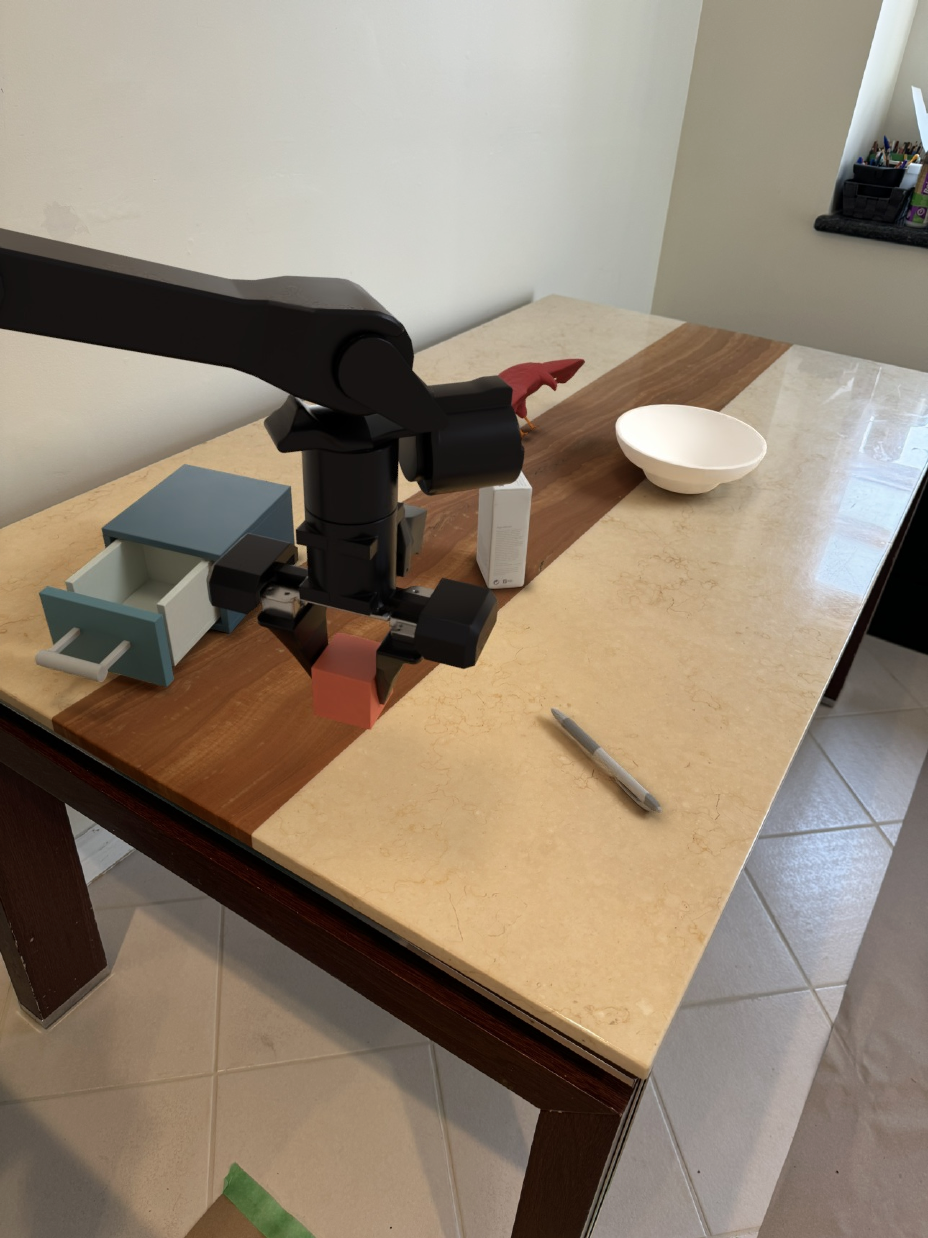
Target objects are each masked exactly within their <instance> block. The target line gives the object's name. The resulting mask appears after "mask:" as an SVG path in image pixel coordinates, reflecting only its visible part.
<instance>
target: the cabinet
mask: <svg viewBox="0 0 928 1238" xmlns="http://www.w3.org/2000/svg"><path fill="white" fill-rule="evenodd" d="M293 511H294V510H293V495H292V486H291V485H287V484H283V483H278V482H273V481H269V480H263V479H258V478H255V477H249V476H244V475H240V474H236V473H235V474H234V473H230V472H225V471H220V470H217V469H216V470H215V469H211V468H206V467H201V466H198V465H197V466H196V465H191V464H187V463H184V464H182V465H181V466H179V468H177V469H176V470H174V471H173V472H172V473H171V474H169V475H168V476H167V477H165V478H164V479H163V480H162V481H159V483H158V484H156V485H155V486H154V487H152V488H151V489H150V490H148V491H147V492H146V493H144V494H143V495H142V496H140V498H137V500H136V501H134V502H133V503H132V504H131V505H129V506H127V508H125V509H124V510H123V511H121V512H120V513H119V514H118V515H116V516H115V517H114V518H112V519H110V521H108V522H107V523H106V524H104V525H103V526H102V527H101V534H102V539H103V544H104V549H106V548H107V547H108V546H109V545H110V544H112V543H113V542H114V541H115V540H117V539H123V540H127V541H131V542H136V543H140V544H144V545H149V546H153V547H157V548H161V549H166V550H170V551H174V552H179V553H183V554H187V555H191V556H196V557H200V558H204V559H209V560H213V561H214V563H216V562H217V561H218V560H219V559H220V558H221V557H222V556H223V555H224V554H225V553H226V552H227V551H228V550H229V549H230V548H231V547H232V546H233V545H234V544H235V543H236V542H237V541H238V540H239V539H241V538H242V537H243V536H244V535H245V534H247V533H251V534H255V535H259V536H264V537H268V538H272V539H277V540H281V541H285V542H290V543H292V544H294V545H295V546H296V539H295V528H294V527H295V525H294V524H295V523H294V512H293ZM260 600H262V598H260ZM220 613H221V617H220V618H219V619H218V620H217V621H216V622H215V623H214V624H213V625H212V626H211V628H210V629H209V630H214V631H218V632H221V633H225V634H231V633H232V632H233V631H234V629H235V628H236V627H237V626H238V625H239V624H240V623H241V622H242V621H243V619H244V618H245V617H247V615H246V614H242V613H238V612H234V611H231V610H227V609H223V608H220Z"/></svg>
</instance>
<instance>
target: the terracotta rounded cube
mask: <svg viewBox="0 0 928 1238" xmlns="http://www.w3.org/2000/svg"><path fill="white" fill-rule="evenodd" d="M381 643H382V642H380V641H375V640H371V639H368V638H363V637H359V636H355V635H351V634H347V633H343V632H339V631H336V633H335V635H334V636H333V637H332V639H331V640H330V642H328V646H327V647H326V648H325V650H324V651H323V653H322V654H321V655H320V657H319V658H318V659H317V661H316V662H315V664H314V665H313V666H312V668H311V671H312V679H311V688H312V705H313V707H312V708H313V715H314V716H318V717H320V718H324V719H328V720H332V721H335V722H338V723H339V722H340V723H343V724H345V725H351V726H355V727H357V728H362V729H365V730H369V731H371V730H372V729H373V726H375V723H376V721H377V720H378V718H379V717H380V715H381V714H382V711H383V709H384V708H385V706H386V705H387V703H388V701H389V699H390V698H391V696H392V694H393V693H394V688H393V689H392V692H391V694H390V696H389V698H388V700H387V701H386V703H385V705H382V704H379V700H378V696H377V691H376V650H377V649H378V647H379V646H380V644H381Z"/></svg>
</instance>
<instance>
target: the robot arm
mask: <svg viewBox="0 0 928 1238" xmlns="http://www.w3.org/2000/svg"><path fill="white" fill-rule="evenodd" d="M0 330H6V331H12V332H17V333H23V334H28V335H33V336H40V337H47V338H50V339H51V338H52V339H57V340H64V341H70V342H75V343H80V344H86V345H87V344H88V345H92V346H98V347H105V348H109V349H116V350H120V351H121V350H122V351H128V352H133V353H139V354H145V355H150V356H158V357H163V358H169V359H173V360H174V359H175V360H181V361H187V362H192V363H197V364H204V365H210V366H215V367H222V368H227V369H231V370H234V371H238V372H241V373H243V374H247V375H249V376H252V377H255V378H256V379H259V380H261V381H263V382H265V383H267V384H268V385H270V386H273V387H274V388H277V389H279V390H280V391H282V392H285V393H287V394H288V396H287V398H286V399H285V401H284V402H283V404H282V405H281V406H280V407H278V408H277V409H275V410H274V411H273V412H271V413H270V414H269V415H268V416H266V418H264V421H263V426H264V428H265V430H266V432H267V434H268V435H269V437H270V439H271V440H272V442H273V444H274V446H275V448H276V450H277V451H278V452H279V453H281V454H288V453H297V452H301V466H302V467H301V468H302V488H303V507H304V508H303V510H304V520H303V522H301V524H300V525H299V526H297V528H295V545H294V544H292V543H290V542H285V541H281V540H277V539H272V538H268V537H264V536H259V535H255V534H251V533H247V534H245V535H244V536H243V537H242V538H241V539H239V540H238V541H237V542H236V543H235V544H234V545H233V546H232V547H231V548H230V549H229V550H228V551H227V552H226V553H225V554H224V555H223V556H222V557H221V558H220V559H219V560H218V561H217V562H216V563H214V564H213V565H212V566H211V567H210V569H209V572H208V576H207V579H206V582H207V589H208V597H209V601H210V603H211V605H212V606H215V607H219V608H223V609H227V610H231V611H234V612H238V613H242V614H246V616H247V615H248V614H250V613H251V612H252V611H254V610H255V609H256V608H258V606H259V605H260V604H261V608H262V610H261V611H260V612H259V613H258V614H257V615H256V622H257V624H258V625H259V626H260V627H262V628H266V629H268V630H269V631H270V632H271V633H272V634H273V635H274V636H275V637H276V638H277V639H278V640H279V641H280V642H281V644H282V645H283V646H284V647H285V648H286V649H287V650H288V651H289V653H291V655H292V656H293V657H294V659H295V660H296V661H297V662H298V663H299V665H300V666H301V667H302V669H303V670H304V672H305V673H306V674H307V675H308V677H309V678H310V679H311V680H312V671H311V668H312V666H313V665H314V664H315V662H316V661H317V659H318V658H319V657H320V655H321V654H322V653H323V651H324V650H325V648H326V647H327V646H328V644H329V635H328V623H327V621H328V620H327V609H328V608H329V609H333V610H337V611H341V612H345V613H349V614H353V615H358V616H361V617H366V618H369V619H374V620H378V621H382V622H388V625H389V627H390V628H389V630H388V632H387V633H386V635H385V636H384V637H383V639H382V641H381V642H380V643H381V644H380V646H379V647H378V649H377V650H376V691H377V696H378V700H379V704H382V705H385V703H386V701H387V700H388V701H389V699H390V698H389V696H390V694H391V692H392V689H393V690H394V687H395V685H396V683H397V680H398V678H399V676H400V674H401V671H402V669H403V667H404V665H405V664H407V665H411V666H413V665H418V664H420V663H421V662H423V659H424V660H426V661H429V662H433V663H437V664H441V665H446V666H450V667H453V668H458V669H462V670H465V669H469V668H472V667H475V666H476V664H477V662H478V661H479V658H480V656H481V654H482V652H483V650H484V648H485V646H486V644H487V642H488V641H489V637H490V636H491V633H492V631H493V629H494V628H495V625H496V623H497V620H498V611H499V600H498V599H497V596H496V595H495V593H494V592H493V590H492V588H488V587H485V586H480V585H476V584H472V583H468V582H464V581H459V580H454V579H451V578H446V577H441V579H440V580H439V582H438V583H437V585H436V587H435V588H429V587H426V586H421V585H410V586H408V587H407V588H404V587H399V586H397V578H398V577H399V578H405V577H406V576H407V575H408V573H409V572H410V570H411V567H412V566H411V565H412V556H413V555H419V554H421V553H422V548H423V541H424V535H425V530H426V529H425V528H426V521H427V514H428V510H427V509H426V508H424V507H419V506H415V505H411V504H406V503H404V502H400V501H399V468H400V470H401V473H402V475H403V477H404V478H405V480H406V481H407V482H409V483H416V484H417V486H418V487H419V489H420V491H421V492H422V493H423V494H425V495H426V496H427V497H429V496H430V497H432V496H440V495H446V494H452V493H459V492H466V491H472V490H479V488H486V487H492V486H499V485H506V484H511V483H513V482H515V481H516V480H517V478H518V477H519V475H520V473H521V471H522V470H523V466H524V462H525V454H526V453H525V451H526V450H525V447H524V445H523V444H522V437H521V433H520V430H521V427H520V423H519V420H518V416H517V415H516V413H515V411H514V409H513V406H512V395H513V388H512V387H511V386H510V385H508V384H507V383H506V382H505V381H504V380H503V379H501V378H500V377H499V376H498V375H499V374H494V375H486V376H480V377H476V378H475V379H472V380H466V381H459V382H448V383H439V384H427V383H425V381H424V380H422V378H421V377H420V376H419V375H418V374H417V373H416V372H415V371H414V370H413V369H414V361H415V353H414V352H415V351H414V347H413V340H412V339H411V336H410V335H409V332H408V330H407V329H406V327H405V326H404V324H403V323H402V322H401V321H400V320H399V319H398V318H397V317H395V315H393V313H391V312H390V310H388V309H387V308H386V307H385V306H384V305H383V304H382V303H381V302H379V301H378V299H376V298H375V297H374V296H373V295H372V294H371V293H370V292H369V291H368V290H367V289H365V288H364V287H363V286H362V285H360V284H359V283H356V282H354V281H352V280H350V279H347V278H340V277H326V276H306V275H305V276H304V275H281V276H273V277H266V278H265V277H264V278H257V279H243V278H242V279H239V278H227V277H223V276H219V275H214V274H209V273H205V272H201V271H196V270H191V269H187V268H182V267H177V266H175V265H169V264H164V263H160V262H155V261H151V260H146V259H141V258H137V257H133V256H128V255H124V254H119V253H115V252H111V251H105V250H101V249H97V248H92V247H88V246H83V245H79V244H73V243H70V242H66V241H60V240H56V239H53V238H52V239H51V238H47V237H42V236H38V235H35V234H30V233H24V232H20V231H15V230H11V229H6V228H3V227H0ZM305 401H306V402H309V403H311V404H308V403H306V402H305ZM312 404H313V405H312ZM298 546H302V547H306V549H305V550H306V564H307V565H306V566H307V567H303V566H299V565H296V564H297V563H298V562H299V547H298ZM260 598H261V599H260ZM391 695H392V694H391ZM390 697H391V696H390ZM388 698H389V699H388ZM388 701H387V702H388ZM386 704H387V703H386ZM385 706H386V705H385Z"/></svg>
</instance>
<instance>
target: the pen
mask: <svg viewBox="0 0 928 1238" xmlns="http://www.w3.org/2000/svg"><path fill="white" fill-rule="evenodd" d="M550 713H551V714H552V716H553V718H554V719H555V720H556V721H557V723H558V724H559V725H560V726H561V727H562V729H564V730H565V731H566V732H567V733H568V734H569V735H570V736H571V737H572V738H573V739H575V741H577V743H578V744H580V745H581V746H582V747H583V748H584V749H585V750H586V751H587V752H588V753H589V754H590V755H591V756H593V758H595V759H596V760H597V761H598V762H599V763H600V764H602V765H603V767H604V768H606V769H607V770H608V772H610V773H611V774H612V777H613V778H614V780H615V782H616V783H617V784H618V785H619V787H620V788H621V789H622V790H623V791H624V792H625V793H626V795H628V796H629V798H630V799H632V800H633V801H634V802H635V803H636V804H637V805H638V806H639V807H641V808H642V809H644V810H646V811H648V812H657V813H658V814H661V813H662V812H663V808H662V807H661V804H660V803H659V801H658V800H657V799H656V797H654V796H653V794H652V793H650V792H649V791H648V790H647V789H646V788H645V787H644V786H642V784H640V783H639V782H638V781H637V780H636V779H635V778H634V777H633V776H632V775H631V774H630V773H629V772H628V771H627V770H626V769H625V768H623V766H621V765H620V764H619V763H618V762H617V761H616V760H615V759H614V758H613V757H611V756H610V755H609V753H607V752H606V751H605V749H604V748H603V747H602V746H601V745H599V744H598V743H597V742H596V741H595V740H594V739H593V738H592V737H591V736H589V734H587V732H585V731H584V730H583V729H582V728H581V727H580V726H579V725H578V724H577V723H576V722H575V721H574V720H572V718H571V717H568V716H567V715H566V714H564V713H563V712H562V711H561V710H559V709H557V708H554V707H550ZM628 790H629V791H630V792H629V791H628Z"/></svg>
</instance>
